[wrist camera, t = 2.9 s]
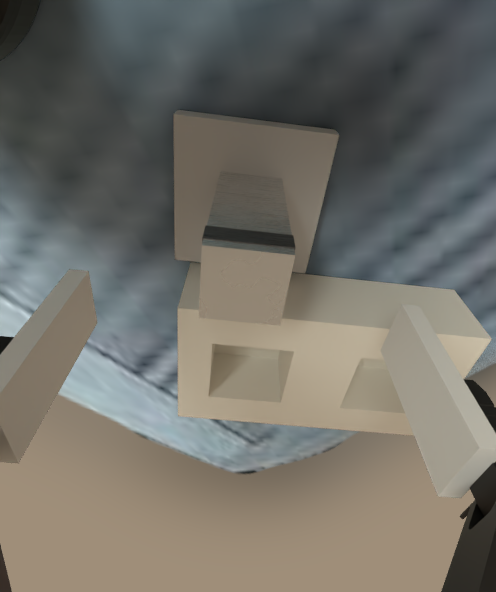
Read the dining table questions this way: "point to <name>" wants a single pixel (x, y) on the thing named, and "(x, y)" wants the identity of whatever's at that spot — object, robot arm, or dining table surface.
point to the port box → (313, 354)
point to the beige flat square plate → (248, 172)
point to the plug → (246, 251)
